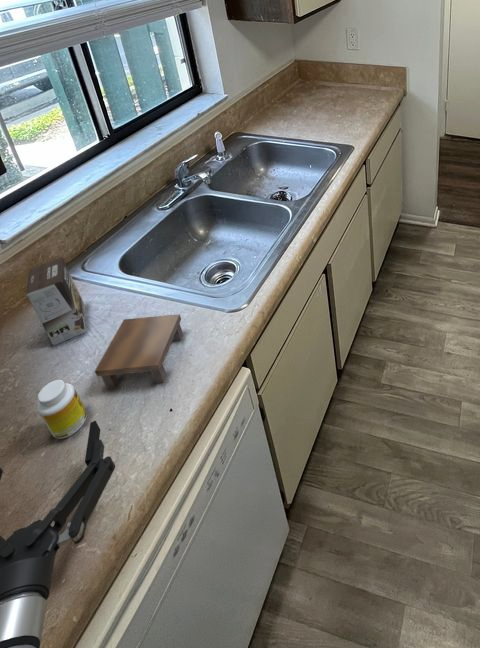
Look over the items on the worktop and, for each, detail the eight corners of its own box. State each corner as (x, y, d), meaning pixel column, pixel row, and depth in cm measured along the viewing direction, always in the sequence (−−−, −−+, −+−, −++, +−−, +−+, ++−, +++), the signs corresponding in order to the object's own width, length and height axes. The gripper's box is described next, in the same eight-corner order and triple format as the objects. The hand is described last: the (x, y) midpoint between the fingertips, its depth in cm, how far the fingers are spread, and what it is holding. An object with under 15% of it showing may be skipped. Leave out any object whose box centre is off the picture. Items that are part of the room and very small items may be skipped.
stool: (103, 390, 88) (94, 371, 86) (131, 337, 99) (123, 319, 97) (165, 384, 89) (157, 365, 87) (185, 332, 100) (179, 314, 98)
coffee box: (86, 332, 101) (62, 281, 94) (52, 346, 97) (24, 295, 91) (86, 305, 108) (63, 255, 101) (54, 318, 104) (28, 267, 97)
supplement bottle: (94, 416, 84) (76, 383, 80) (63, 446, 79) (42, 412, 75) (77, 403, 86) (59, 370, 82) (46, 431, 82) (25, 397, 77)
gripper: (-106, 694, 52) (-39, 499, 70) (130, 565, 62) (138, 423, 80) (-141, 672, 49) (-61, 473, 67) (115, 540, 59) (126, 397, 76)
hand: (48, 445), depth 73 cm, fingers open, 13 cm apart
